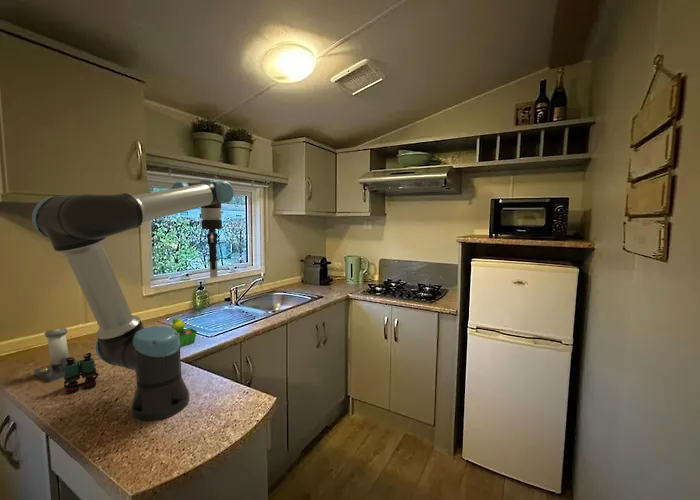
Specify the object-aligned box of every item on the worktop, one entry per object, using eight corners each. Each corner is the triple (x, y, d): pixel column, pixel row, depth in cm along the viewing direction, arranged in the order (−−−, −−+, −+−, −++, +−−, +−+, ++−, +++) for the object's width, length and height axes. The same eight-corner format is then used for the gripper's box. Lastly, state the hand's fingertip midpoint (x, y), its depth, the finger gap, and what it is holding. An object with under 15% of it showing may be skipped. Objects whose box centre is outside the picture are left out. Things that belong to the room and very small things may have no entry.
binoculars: (62, 370, 102) (61, 356, 109) (65, 400, 104) (64, 385, 111) (98, 361, 108) (95, 349, 115) (100, 390, 110) (97, 376, 117)
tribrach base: (49, 382, 113) (48, 366, 113) (34, 375, 118) (32, 360, 117) (86, 368, 123) (85, 354, 123) (70, 362, 128) (69, 349, 127)
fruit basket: (172, 350, 140) (171, 324, 138) (163, 345, 145) (161, 320, 144) (198, 342, 149) (197, 318, 147) (188, 337, 154) (187, 314, 153)
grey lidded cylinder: (54, 366, 116) (49, 334, 115) (45, 363, 119) (41, 331, 117) (74, 359, 122) (70, 328, 120) (65, 356, 124) (61, 326, 123)
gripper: (221, 219, 127) (223, 279, 129) (221, 218, 139) (223, 273, 141) (200, 219, 124) (202, 280, 126) (202, 218, 136) (204, 274, 139)
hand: (213, 277), depth 134 cm, fingers closed
